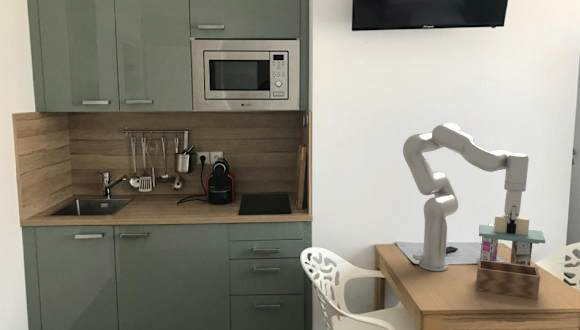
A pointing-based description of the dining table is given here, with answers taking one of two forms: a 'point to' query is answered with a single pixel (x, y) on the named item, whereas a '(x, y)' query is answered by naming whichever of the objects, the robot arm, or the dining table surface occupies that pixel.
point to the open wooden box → (508, 279)
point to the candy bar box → (489, 248)
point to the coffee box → (521, 253)
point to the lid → (500, 233)
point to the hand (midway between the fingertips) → (510, 231)
